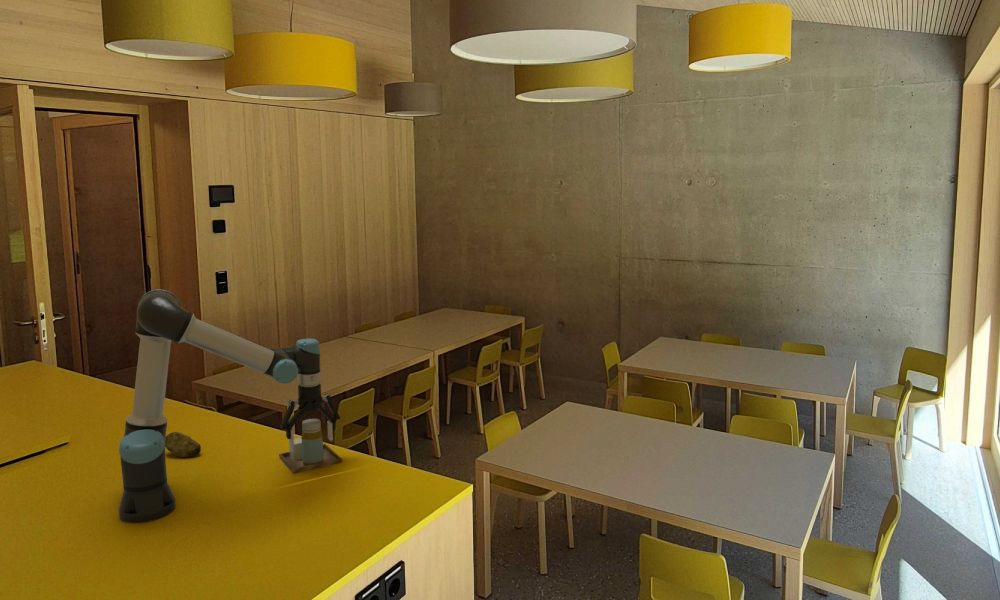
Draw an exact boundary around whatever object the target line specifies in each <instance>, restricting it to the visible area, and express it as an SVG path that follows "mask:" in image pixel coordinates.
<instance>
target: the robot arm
mask: <svg viewBox="0 0 1000 600" xmlns="http://www.w3.org/2000/svg"><path fill="white" fill-rule="evenodd" d="M135 323H136V324H135V330H134V331H135V335H136V336H137V337H139V339H140V340H139V347H138V356H137V357H138V358H137V365H136V366H137V367H136V374H135V383H134V384H135V385H134V391H133V401H132V402H133V403H132V413H131V414H129V415H128V416H126V418H125V424H124V425H125V426H124V435H123V437H122V438H121V440H120V442H119V447H118V453H119V457H120V465H121V475H122V486H123V487H122V488H123V491H122V494H121V500H120V502H119V506H118V517H119V519H120V520H121V521H123V522H128V523H144V522H145V523H146V522H150V521H154V520H158V519H161V518H163V517H165V516H167V515H168V514H169V515H170V513H172V512H173V511H174V510H175V509H176V507H177V503H176V498H175V494H174V492H173V490H172V489H171V487H170V485H169V482H168V475H167V474H168V473H167V461H166V447H165V440H166V436H167V428H168V418H167V416H165V415H164V407H165V406H164V405H165V398H166V390H167V381H168V372H169V361H170V354H171V347H172V346H171V345H172V342H174V343H177V344H181V343H184V342H185V343H187V344H189V345H191V346H193V347H197V348H199V349H202V350H204V351H206V352H208V353H211V354H214V355H216V356H220V357H221V358H225V359H227V360H229V361H232V362H234V363H237V364H238V365H242V366H245V367H246V368H249V369H251V370H254V371H257V372H259V373H262V374H265V375H266V376H268V377H271V378H273V379H274V380H276V382H278V383H279V384H283V385H284V384H286V385H287V384H290V383H292V382H293V381H295V379H296V378H297V384H298V386H297V389H298V392H297V394H298V398H297V399H296V400H292V399H289V400H288V407H287V409H286V411H285V413H284V416H283V418H282V421H281V423H280V425H279V427H280V428H281V429H282V430H285V436H286V439H288V447H289V446H290V447H291V448H292V449H293V448H294V439H295V437H294V435H295V434H294V432H295V431H294V429H293V427H294V426H295V425H296V423H297V422H298V421H299V419H300V417H301V416H302V415H304V413H305V412H307V413H308V412H311V411H313V412H314V411H316V410H319V411H320V412H321V413H322V415H324V416H325V417H326V418H327V419H329V420H327V439H328V440H329V441H330V442H332V441H334V437H333V431H335V430H336V422H337V420H340V419H341V416H340V414H339V412H338V411H337V410H336V407H335V405H334V404H333V402H332V398H331V395H329V394H328V393H325V394H324V395H322V384H321V382H322V380H321V349H320V341H318V339H316V338H302V339H298V340H297V341H296V345H294V346H288V347H277V348H276V347H274V348H271V347H269V348H267V347H264V346H262V345H259V344H257V343H255V342H252V341H250V340H247V339H246V338H243V337H241V336H238V335H236V334H233V333H231V332H229V331H227V330H225V329H222V328H220V327H217V326H216V325H212V324H210V323H207V322H205V321H203V320H200V319H198V318H197V317H196V316H195V314H194V312H191V311H189V310H186V309H184V308H183V307H182V306H181V303H180V300H179V299H178V297H177V296H176V295H175V293H172V292H171V291H169V290H165V289H153V290H150V291H147V292H146V293H144V294H143V295H142V296H141V297H140V298H139V300H138V302H137V310H136V322H135ZM323 401H324V402H325V403H326V404H327V406H328V408H329V410H330V412H331V413H332V415H331V414H330V413H329V412H328V411H327V410H326V409H324V407H323V406H322V405H321V403H322V402H323ZM297 405H298V406H297ZM296 407H297V409H296V411H295V413H294V414H293V412H294V410H295V408H296Z"/></svg>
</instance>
